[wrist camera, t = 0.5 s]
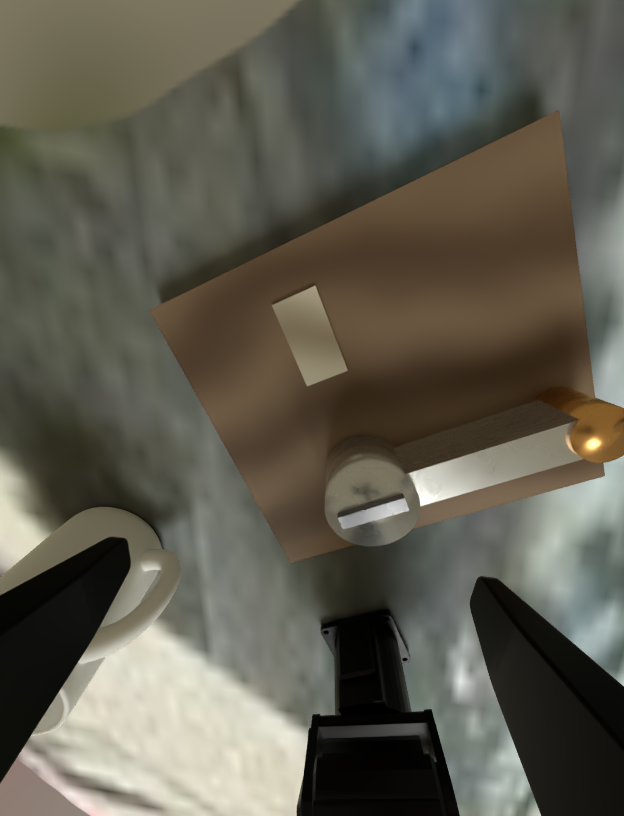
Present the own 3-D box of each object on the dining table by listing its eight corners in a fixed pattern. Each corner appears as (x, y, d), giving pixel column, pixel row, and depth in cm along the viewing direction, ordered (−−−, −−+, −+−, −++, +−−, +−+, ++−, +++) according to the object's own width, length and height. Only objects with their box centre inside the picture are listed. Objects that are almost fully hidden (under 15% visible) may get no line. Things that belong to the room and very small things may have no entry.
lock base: (586, 463, 21) (607, 477, 19) (292, 547, 25) (290, 565, 23) (537, 127, 15) (562, 107, 13) (162, 309, 19) (147, 310, 17)
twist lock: (341, 509, 21) (344, 561, 17) (314, 449, 19) (309, 490, 15) (583, 437, 18) (657, 477, 14) (571, 360, 17) (651, 380, 13)
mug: (188, 489, 23) (88, 625, 14) (220, 570, 26) (155, 731, 16) (52, 509, 25) (-126, 644, 15) (95, 584, 27) (-32, 739, 18)
